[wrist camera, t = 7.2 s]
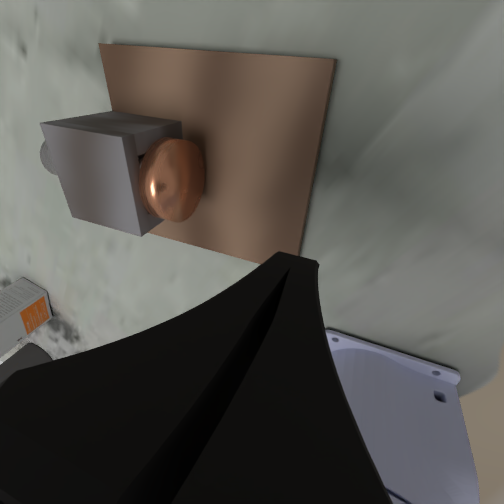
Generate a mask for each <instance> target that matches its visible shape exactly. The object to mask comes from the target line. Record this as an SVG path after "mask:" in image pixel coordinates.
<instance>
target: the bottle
mask: <svg viewBox="0 0 504 504" xmlns="http://www.w3.org/2000/svg"><path fill="white" fill-rule="evenodd" d="M50 361H52V359H51V358H50V356H49V355H48V354H47V353H46V352H45V351H44V350H42V349H41V348H40V347H38V346H36V345H34V344H32V343H28V344H27V345H25V346H24V347H23V348H21V349H20V350H19V351H17V352H16V353H15V354H14V355H12V356H11V357H10V358H9V359H7V360H6V361H5V362H3V363H2V364H1V365H0V383H2V382H3V381H4V380H5V379H6V378H8V377H9V376H10V375H11V374H13V373H14V372H15V371H17V370H21V369H24V368H28V367H32V366H36V365H39V364H43V363H46V362H50Z"/></svg>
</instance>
